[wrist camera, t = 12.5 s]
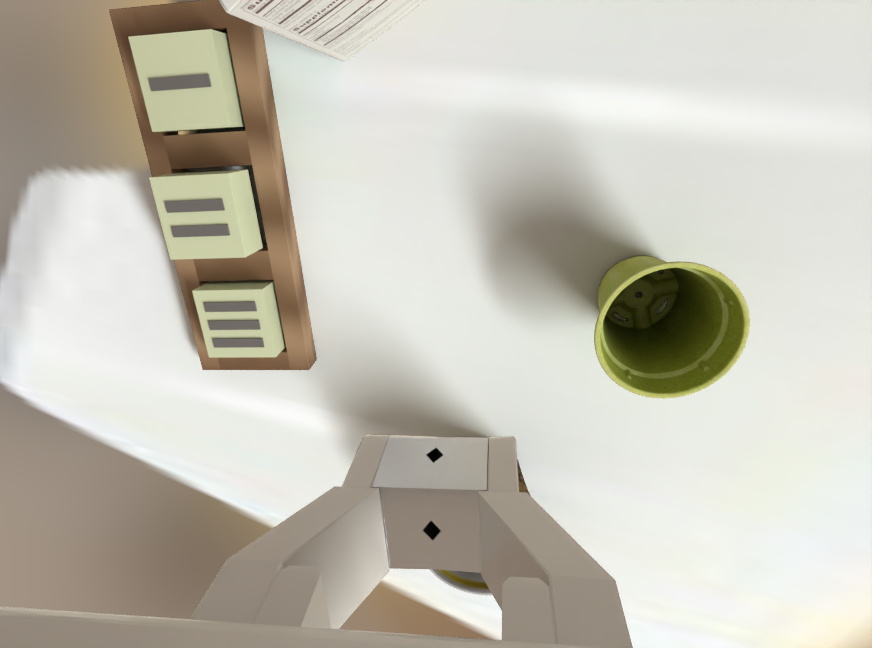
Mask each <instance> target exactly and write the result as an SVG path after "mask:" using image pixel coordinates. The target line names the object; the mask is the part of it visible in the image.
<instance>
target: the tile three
mask: <svg viewBox="0 0 872 648" xmlns="http://www.w3.org/2000/svg"><path fill="white" fill-rule="evenodd" d="M192 292H193V296H194V300H195V304H196V308H197V312H198V316H199V320H200V324H201V328H202V332H203V336H204V340H205V344H206V348H207V352H208V356H209V358H235V357H277V356H278V354H279V353H280V352H281V351H282V350H283V349H284V348H285V347H286V343H285V338H284V333H283V327H282V322H281V317H280V311H279V306H278V301H277V295H276V290H275V285H274V280H238V281H209V282H207V283H205V284H203V285H201V286H200V287H198V288H196V289H194V290H192Z"/></svg>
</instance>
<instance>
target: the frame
mask: <svg viewBox="0 0 872 648" xmlns="http://www.w3.org/2000/svg"><path fill="white" fill-rule="evenodd" d="M109 12H110V16H111V20H112V23H113V27H114V31H115V35H116V39H117V43H118V47H119V50H120V54H121V58H122V62H123V66H124V69H125V73H126V77H127V81H128V85H129V88H130V92H131V96H132V100H133V104H134V108H135V111H136V116H137V119H138V123H139V127H140V131H141V135H142V139H143V142H144V146H145V150H146V154H147V158H148V162H149V165H150V169H151V173H152V177H155V176H161V175H168V174H174V173H187V169H186V168H205V167H223V166H242V165H252V167H253V172H254V178H255V183H256V188H257V194H258V199H259V204H260V210H261V215H262V220H263V226H264V231H265V237H266V242H267V246H263V248H262V249H260V250H258V251H256V252H255V253H253V254H251V255H249V256H247V257H245V258H212V259H177V260H174V261H175V265H176V269H177V273H178V277H179V280H180V284H181V288H182V292H183V296H184V300H185V303H186V307H187V311H188V315H189V319H190V323H191V326H192V330H193V334H194V338H195V342H196V346H197V349H198V353H199V357H200V361H201V365H202V369H203V370H309V369H310V368H311V366H312V365H313V364H314V363H315V361H316V353H315V347H314V341H313V335H312V329H311V323H310V317H309V311H308V305H307V298H306V292H305V286H304V280H303V274H302V268H301V262H300V256H299V250H298V243H297V237H296V231H295V225H294V219H293V213H292V207H291V201H290V194H289V188H288V182H287V176H286V170H285V164H284V158H283V152H282V146H281V139H280V133H279V127H278V121H277V115H276V109H275V103H274V97H273V91H272V84H271V78H270V72H269V66H268V60H267V54H266V48H265V42H264V36H263V29H262V27H260V26H257V25H255V24H253V23H250V22H248V21H245V20H243V19H241V18H238V17H236V16H233V15H231V14H229V13H227V12H226V11H225V10H224V8H223V7H222V5H221V3H220V1H219V0H201V1H191V2H181V3H171V4H161V5H151V6H141V7H131V8H121V9H111V10H109ZM206 29H213V30H216V31H219V32H222V33H225V34H228V39H229V44H230V49H231V55H232V60H233V65H234V71H235V76H236V81H237V87H238V92H239V97H240V103H241V108H242V113H243V119H244V124H245V130H246V131H234V132H219V133H203V134H187V135H178V131H166V132H152V129H151V125H150V121H149V117H148V113H147V109H146V105H145V101H144V97H143V93H142V90H141V86H140V82H139V78H138V74H137V70H136V66H135V62H134V58H133V54H132V50H131V46H130V42H129V38H128V37H130V36H141V35H152V34H163V33H174V32H185V31H196V30H206ZM238 280H274V285H275V290H276V295H277V301H278V306H279V311H280V317H281V322H282V327H283V333H284V338H285V343H286V347H285V348H284V349H283V350H282V351H281V352H280V353H279V354H278V356H277V357H235V358H209V356H208V352H207V348H206V344H205V340H204V336H203V332H202V328H201V324H200V320H199V316H198V312H197V308H196V304H195V300H194V296H193V292H192V290H194V289H196V288H198V287H200V286H201V285H203V284H205V283H207V282H209V281H238Z"/></svg>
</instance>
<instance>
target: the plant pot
mask: <svg viewBox="0 0 872 648" xmlns="http://www.w3.org/2000/svg"><path fill="white" fill-rule="evenodd" d="M658 270H663V274H660V273H659V272H657V271H658ZM636 292H641V293H642V296H641V297H639V298H638V297H636V296H635V294H636ZM665 300H667V305H666V307H665V308H664V310H663V311H662V312H660V313H658V314H656V311H657V310H658V309H659V308H660V307H661V305H662V304H663V303H664V302H665ZM598 304H599V311H600V313H599V316H598V319H597V322H596V326H595V332H594V344H595V350H596V354H597V357H598V360H599V362H600V364H601V366H602V368H603V369H604V371H605V372H606V374H607V375H608V376H609V377H610V378H611V379H612V380H613V381H614V382H616V383H617V384H618V385H619V386H621V387H623V388H624V389H626V390H628V391H630V392H632V393H635V394H638V395H641V396H646V397H652V398H675V397H681V396H685V395H689V394H692V393H695V392H698V391H700V390H702V389H704V388H706V387H708V386H710V385H711V384H713V383H715V382H716V381H717V380H719V379H720V378H721V377H723V376H724V375H725V374H726V373H727V372H728V371H729V370H730V369H731V368H732V367H733V365H734V364H735V363H736V361H737V360H738V358H739V357H740V355H741V353H742V352H743V349H744V347H745V344H746V341H747V338H748V334H749V327H750V317H749V310H748V307H747V303H746V301H745V299H744V297H743V295H742V293H741V291H740V290H739V289H738V287H737V286H736V285H735V284H734V283H733V282H732V281H731V280H730V279H729V278H728V277H726V276H725V275H723V274H722V273H720V272H718V271H717V270H715V269H712V268H710V267H707V266H705V265H701V264H697V263H692V262H665V261H663V260H660V259H657V258H654V257H650V256H637V257H632V258H629V259H625V260H622V261H620V262H619V263H617V264H615V265H614V266H613V267H612V268H611V269H609V270H608V272H607V273H606V274H605V276H604V277H603V279H602V281H601V283H600V286H599V290H598ZM614 312H616V313H618V314H619V315H620V316H622V317H624V318H626V319H628V321H625V322H624V321H621V320H619V319H617V318H616V317H614Z"/></svg>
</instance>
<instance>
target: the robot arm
mask: <svg viewBox="0 0 872 648" xmlns="http://www.w3.org/2000/svg"><path fill="white" fill-rule="evenodd" d="M389 568H403V569H438V570H451V571H464V572H476V573H481V576H482V577H483V579H484V581H485V583H486V584H487V586H488V588H489V589H490V591H491V593H492V594H493V596H494V598H495V600H496V601H497V603H498V605H499V606H500V608H501V610H502V640H488V639H474V638H460V637H445V636H430V635H415V634H399V633H385V632H370V631H369V632H368V631H354V630H340V629H339V628H340V627H341V626H342V624H343V623H344V622H345V621H346V620H347V619H348V617H349V616H350V615H351V614H352V613H353V612H354V611H355V609H356V608H357V607H358V606H359V605H360V604H361V603H362V602H363V600H364V599H365V598H366V597H367V596H368V595H369V593H370V592H371V591H372V590H373V589H374V588H375V587H376V585H377V584H378V583H379V582H380V581H381V580H382V579H383V578H384V576H385V575H386V574H387V573H388V572H389ZM0 648H633V647H632V643H631V639H630V636H629V632H628V628H627V624H626V620H625V616H624V612H623V609H622V605H621V601H620V597H619V593H618V589H617V585H616V581H615V580H614V579H613V578H612V577H611V576H610V575H609V574H608V573H607V572H606V571H605V570H604V569H603V568H602V567H601V566H600V565H599V564H598V563H597V562H596V561H595V560H594V559H593V558H592V557H591V556H590V555H589V554H588V553H587V552H586V551H585V550H584V549H583V548H582V547H581V546H580V545H579V544H578V543H577V542H576V541H575V540H574V539H573V538H572V537H571V536H570V535H569V534H568V533H567V532H566V531H565V530H564V529H563V528H562V527H561V526H560V525H559V524H558V523H557V522H556V521H555V520H554V519H553V518H552V517H551V516H550V515H549V514H548V513H547V512H546V511H545V510H544V509H543V508H542V507H541V506H540V505H539V504H538V503H537V502H536V501H535V500H534V499H533V498H532V497H531V496H530V495H529V494H528V493H526V492H519V483H518V467H517V450H516V439H515V437H514V436H513V437H489V438H488V437H433V436H407V435H391V436H390V435H370V434H367V435H366V436H364V437H363V438H362V441H361V443H360V445H359V448H358V450H357V453H356V455H355V457H354V460H353V462H352V464H351V467H350V469H349V471H348V474H347V476H346V478H345V481H344V483H343V485H342V487H333V488H332V489H330V490H329V491H327V492H326V493H325V494H323V495H322V496H320V497H319V498H317V499H316V500H314V501H313V502H311V503H310V504H308V505H307V506H305V507H304V508H302V509H301V510H299V511H298V512H296V513H295V514H293V515H292V516H291V517H289V518H288V519H286V520H285V521H283V522H282V523H280V524H279V525H277V526H276V527H274V528H273V529H271V530H270V531H268V532H267V533H266V534H264V535H263V536H261V537H260V538H258V539H256V540H255V541H254V542H252V543H251V544H249V545H248V546H246V547H245V548H243V549H242V550H240V551H239V552H237V553H236V554H234V555H233V556H231V557H230V558H229V559H227V560H226V562H225V563H224V565H223V566H222V568H221V570H220V571H219V573H218V574H217V576H216V578H215V579H214V581H213V582H212V584H211V586H210V588H209V589H208V590H207V592H206V594H205V595H204V597H203V599H202V600H201V602H200V603H199V605H198V607H197V608H196V610H195V611H194V613H193V615H192V616H191V618H190V619H177V618H161V617H148V616H133V615H118V614H103V613H89V612H74V611H59V610H44V609H29V608H15V607H0Z"/></svg>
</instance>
